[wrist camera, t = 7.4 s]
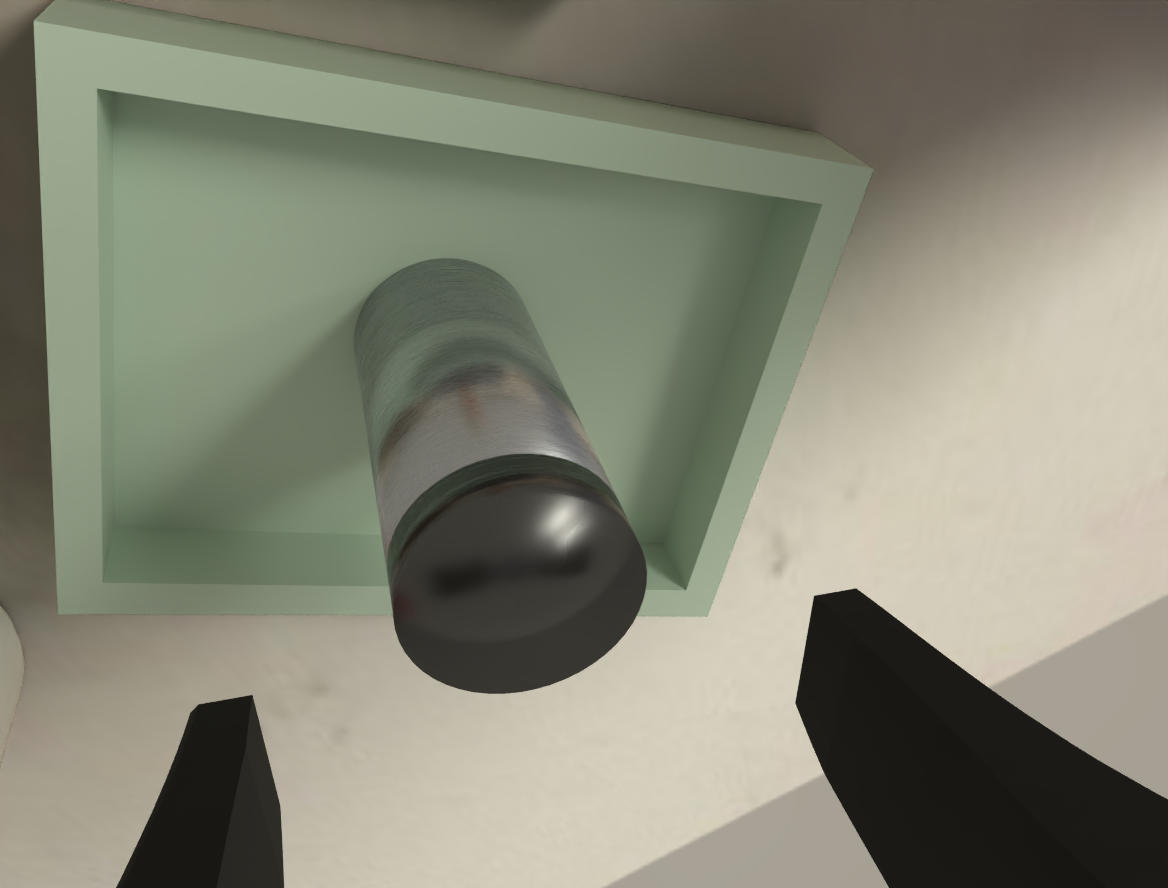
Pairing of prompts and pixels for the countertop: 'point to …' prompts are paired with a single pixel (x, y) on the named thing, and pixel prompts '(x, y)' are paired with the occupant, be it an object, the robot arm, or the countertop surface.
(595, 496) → the pin
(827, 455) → the countertop surface
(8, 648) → the pill bottle
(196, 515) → the tray
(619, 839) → the countertop surface
